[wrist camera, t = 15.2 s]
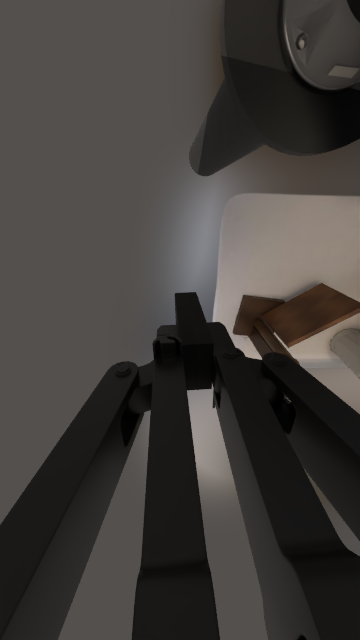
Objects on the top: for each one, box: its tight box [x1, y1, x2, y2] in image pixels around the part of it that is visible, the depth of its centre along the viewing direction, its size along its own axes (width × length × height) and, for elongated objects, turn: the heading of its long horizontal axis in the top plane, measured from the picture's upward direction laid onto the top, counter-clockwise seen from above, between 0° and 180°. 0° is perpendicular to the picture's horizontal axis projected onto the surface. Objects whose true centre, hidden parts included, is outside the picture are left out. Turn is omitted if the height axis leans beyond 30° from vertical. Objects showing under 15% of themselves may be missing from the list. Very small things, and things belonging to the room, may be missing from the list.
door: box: [262, 283, 360, 348], centre depth 38 cm, size 12×2×10 cm, turn 122°
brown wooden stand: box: [233, 295, 300, 365], centre depth 38 cm, size 8×8×15 cm
